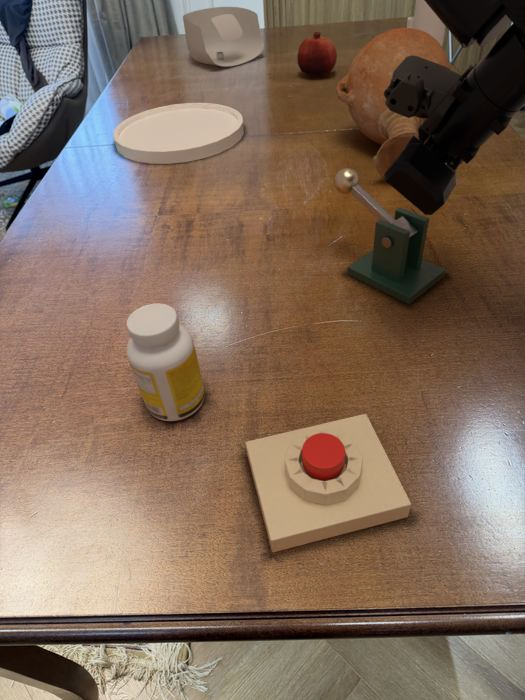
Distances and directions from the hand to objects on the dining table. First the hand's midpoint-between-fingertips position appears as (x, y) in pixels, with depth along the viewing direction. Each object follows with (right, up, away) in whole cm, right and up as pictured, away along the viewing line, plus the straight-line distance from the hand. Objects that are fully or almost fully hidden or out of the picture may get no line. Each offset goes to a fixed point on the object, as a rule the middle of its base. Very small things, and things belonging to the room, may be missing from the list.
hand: (399, 189), depth 60 cm
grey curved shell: (-29, +69, +93) cm, 120 cm away
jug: (+8, +19, +37) cm, 42 cm away
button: (-11, -29, -16) cm, 35 cm away
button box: (-11, -31, -14) cm, 36 cm away
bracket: (+2, -9, +8) cm, 12 cm away
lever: (-2, -1, +6) cm, 7 cm away
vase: (+20, +40, +58) cm, 74 cm away
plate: (-34, +27, +50) cm, 67 cm away
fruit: (-2, +54, +75) cm, 93 cm away
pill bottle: (-26, -25, -5) cm, 36 cm away
